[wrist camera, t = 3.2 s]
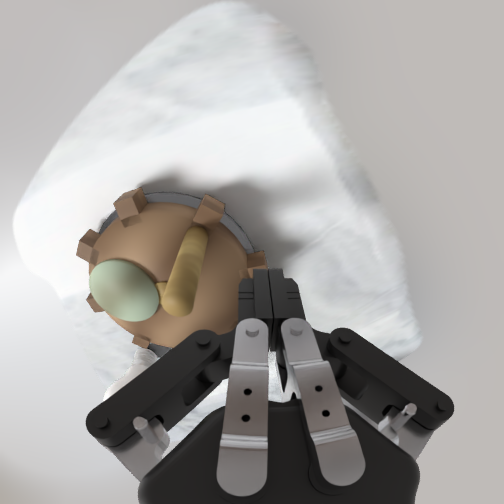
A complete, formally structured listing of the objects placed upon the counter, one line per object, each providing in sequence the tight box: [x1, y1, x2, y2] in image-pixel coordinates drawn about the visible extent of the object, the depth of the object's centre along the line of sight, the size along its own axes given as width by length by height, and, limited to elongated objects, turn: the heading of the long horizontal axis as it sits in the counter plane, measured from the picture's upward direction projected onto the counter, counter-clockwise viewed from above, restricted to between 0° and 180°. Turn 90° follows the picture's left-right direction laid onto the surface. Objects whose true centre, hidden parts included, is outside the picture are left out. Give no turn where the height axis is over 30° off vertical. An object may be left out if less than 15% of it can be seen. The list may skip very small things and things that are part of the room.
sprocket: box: [76, 187, 268, 349], centre depth 20 cm, size 17×17×9 cm
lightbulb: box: [103, 348, 157, 402], centre depth 26 cm, size 6×6×11 cm
